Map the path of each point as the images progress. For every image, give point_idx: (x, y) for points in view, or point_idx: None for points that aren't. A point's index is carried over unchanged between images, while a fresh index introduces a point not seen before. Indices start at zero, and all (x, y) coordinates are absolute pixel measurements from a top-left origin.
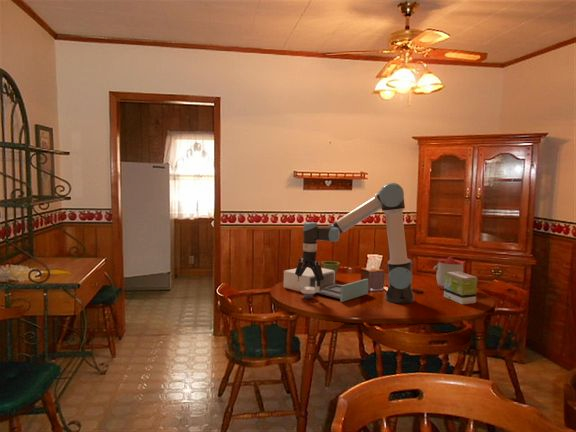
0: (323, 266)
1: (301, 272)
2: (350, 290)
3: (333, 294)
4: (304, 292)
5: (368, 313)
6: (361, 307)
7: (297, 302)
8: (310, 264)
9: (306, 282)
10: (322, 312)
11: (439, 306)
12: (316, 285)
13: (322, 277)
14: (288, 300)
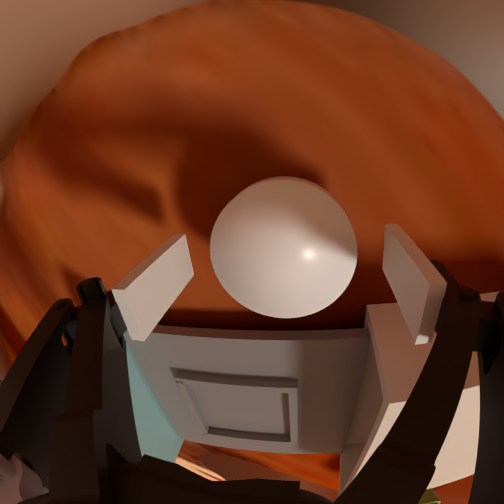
0: (426, 494)
1: (431, 350)
2: None
3: (177, 342)
4: (269, 178)
5: (15, 260)
6: (57, 300)
7: (255, 82)
8: (47, 502)
9: (406, 355)
10: (51, 112)
11: None
12: (141, 265)
13: (69, 346)
14: (339, 65)
